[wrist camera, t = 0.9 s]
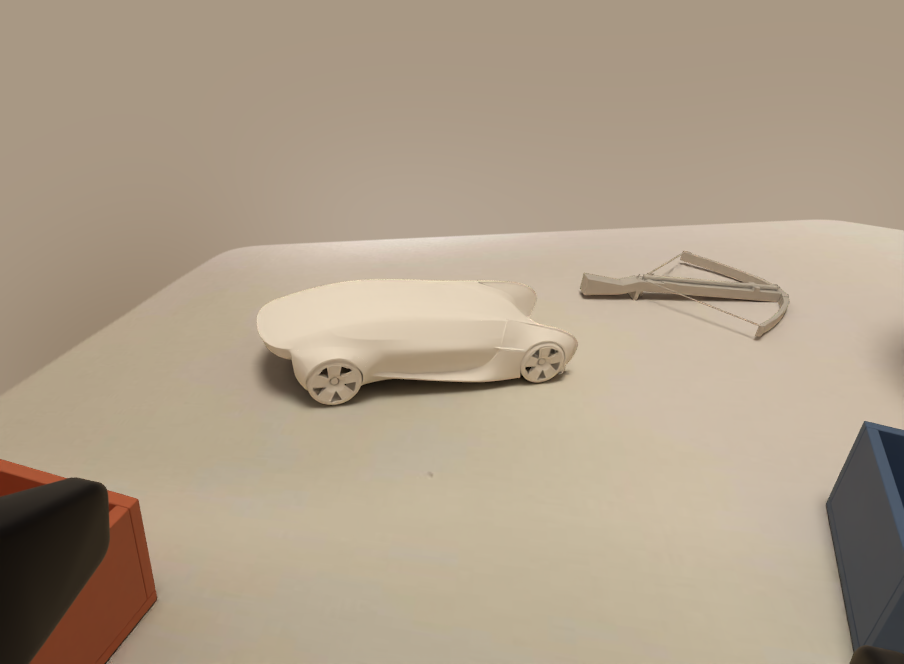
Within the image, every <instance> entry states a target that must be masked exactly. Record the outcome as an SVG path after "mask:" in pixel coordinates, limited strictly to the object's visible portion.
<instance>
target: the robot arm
mask: <svg viewBox="0 0 904 664" xmlns="http://www.w3.org/2000/svg"><path fill="white" fill-rule="evenodd" d="M109 543H110V524H109V498H108V491H107V489H106V487H105V486H104V485H103V484H102V483H99V482H95V481H90V480H85V479H81V478H67V479H64V480H60V481H56V482H53V483H49V484H45V485H42V486H38V487H34V488H31V489H27V490H23V491H20V492H16V493H12V494H9V495H5V496H1V497H0V664H30V662H31V661H32V660H33V658H34V657H35V656H36V654H37V653H38V652H39V650H40V649H41V648H42V646H43V645H44V643H45V642H46V641H47V639H48V638H49V636H50V635H51V633H52V632H53V631H54V629H55V628H56V626H57V625H58V623H59V622H60V621H61V619H62V618H63V616H64V615H65V613H66V612H67V611H68V609H69V608H70V606H71V605H72V604H73V602H74V601H75V599H76V598H77V596H78V595H79V594H80V592H81V591H82V589H83V588H84V586H85V585H86V584H87V582H88V581H89V579H90V578H91V576H92V575H93V574H94V572H95V571H96V569H97V568H98V566H99V565H100V564H101V562H102V561H103V559H104V557H105V555H106V553H107V550H108V547H109ZM850 664H904V654H902V653H900V652H897V651H892V650H887V649H883V648H878V647H873V646H868V645H864V646H861V647H859V648H858V649H857V650H856V651H855V652H854V654H853V656H852V659H851V661H850Z"/></svg>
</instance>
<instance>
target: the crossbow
mask: <svg viewBox="0 0 904 664" xmlns="http://www.w3.org/2000/svg"><path fill="white" fill-rule="evenodd" d="M679 256H681V258H680V260H682V261H685V262H688V263H691V264H694V265H697V266H700V267H703V268H706V269H709V270H712V271H715V272H717V273H720V274H723V275H726V276H728V277H731V278H734V279H736V280H739V281H741V282H744V283H739V282H727V281H715V280H703V279H692V278H680V277H668V276H656V275H654V274H652V272H654V271H656V270H657V269H659V268H661V267H662V266H664V265H666V264H667V263H669V262H671V261H672V260H674V259H676V258H677V257H679ZM580 289H581V291H582V292H583V294H584V295H615V294H625V293H629V295H630V296H631V297H632V299H633V300H637V298H638V296H639V294H640V296H641V297H642V294H643V291H645V292H657V293H670V294H679V295H682V296H684V297H687V298H689V299H692V300H694V301H697V302H699V303H702V304H704V305H707V306H709V307H712V308H715V309H717V310H720V311H722V312H725V313H727V314H730V315H732V316H735V317H737V318H740V319H742V320H745V321H747V322H750V323H753V324H755V325H758V326H759V327H758V330H757V332H756V335H755V336H759V337H761V336H762V334H763V333H765V332H767V331H768V330H770V329H771V328H773V327H774V326H775V325H776V324H777V323H778V322H779V321H780V320H781V319H782V317H783V315H784V313H785V312H786V309H787V307H788V305H789V302H790V301H789V295H788V294H786V293H785V292H784V291H783V290H782V289H781V288H780V287H779V286H778V285H777V284H772V283H770V282H768V281H766V280H764V279H761V278H759V277H756V276H754V275H751V274H749V273H746V272H744V271H741V270H738V269H736V268H733V267H730V266H727V265H724V264H722V263H719V262H716V261H713V260H710V259H707V258H703V257H700V256H697V255H694V254H692V253H691V252H688V251H683V252H682V253H681V254H680V255H678V256H676V257H675V258H673V259H671V260H670V261H668V262H666V263H665V264H663V265H661V266H660V267H658V268H656V269H655V270H653V271H651V272H649V273H647V274H646V275H643V276H640V274H639V275H638V276H630V277H625V278H621V279H616V278H610V277H605V276H599V275H594V274H588V273H584V274H583V278H582V282H581V286H580ZM685 295H695V296H707V297H720V298H732V299H745V300H757V301H770V302H778V305H780V310H779V311H778V312H777V313H776V314H775V315H774V316H773V317H772V318H770V319H769V320H767V321H765V322H764V323H762V324H760V325H759V324H756V323H754V322H751V321H749V320H746V319H744V318H741V317H738V316H736V315H733V314H731V313H728V312H726V311H723V310H721V309H718V308H716V307H713V306H711V305H708V304H705V303H703V302H700V301H698V300H695V299H693V298H690V297H688V296H685Z"/></svg>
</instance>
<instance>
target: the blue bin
mask: <svg viewBox="0 0 904 664" xmlns="http://www.w3.org/2000/svg"><path fill="white" fill-rule="evenodd" d="M826 505H827V511H828V516H829V521H830V526H831V532H832V537H833V542H834V547H835V553H836V558H837V563H838V569H839V574H840V579H841V584H842V590H843V595H844V600H845V605H846V611H847V616H848V621H849V627H850V632H851V637H852V642H853V648H854V652H855V651H856V650H857V649H858V648H859V647H861V646H864V645H868V646H873V647H878V648H883V649H887V650H892V651H897V652H900V653H902V654H904V430H901V429H897V428H892V427H888V426H884V425H880V424H876V423H871V422H867V421H864V423H863V425H862V427H861V429H860V432H859V434H858V436H857V438H856V440H855V442H854V444H853V447H852V449H851V451H850V453H849V455H848V457H847V459H846V462H845V464H844V466H843V468H842V470H841V472H840V475H839V477H838V479H837V481H836V483H835V485H834V487H833V490H832V492H831V494H830V497H829V498H828V501H827V503H826Z"/></svg>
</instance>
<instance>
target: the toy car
mask: <svg viewBox="0 0 904 664" xmlns="http://www.w3.org/2000/svg"><path fill="white" fill-rule="evenodd" d="M536 300H537V295H536V293H535V291H534V290H533V289H532V288H530V287H529V286H527V285H524V284H521V283H516V282H508V281H491V280H477V281H463V280H455V281H444V280H405V279H367V280H353V281H345V282H339V283H334V284H328V285H323V286H319V287H314V288H310V289H307V290H303V291H300V292H296V293H293V294H290V295H287V296H284V297H281V298H279V299H276V300H273V301H270V302H268V303H267V304H265V305H264V306H263V307H262V308H261V309H260V311H259V313H258V315H257V329H258V333H259V335H260V337H261V338H262V340H263V342H264V344H265V345H266V347H267V348H268V350H270V351H271V352H272V353H274V354H275V355H277V356H279V357H281V358H285V359H291V360H292V364H293V369H294V374H295V376H296V378H297V380H298V381H299V383H300V384H301V385H302V386H303V387H304V388H305V389H306V390H308V391H309V394H310V395H311V397H312V398H313V399H315V400H316V401H318V402H320V403H322V404H326V405H336V404H341V403H344V402H346V401H348V400H350V399H351V398H352V397H354V396H355V395H356V393H357V392H358V391H359V389H360V386H361V385H364V384H367V383H371V382H376V381H381V380H386V379H394V378H396V379H412V380H429V381H450V382H490V381H499V380H507V379H513V378H520V373H521V374H522V375H523V377H524V378H525V379H527V380H528V381H531V382H544V381H546V380H549V379H551V378H552V377H554V376H555V375H556V374H557V373H558V374H562V373H563V371H564V369H565V366H566V364H567V363H568V362H569V361H570V360H571V358H572V357H573V355H574V354H575V352H576V350H577V347H578V342H577V340H576V338H575V337H574V336H573V335H572V334H570V333H569V332H567V331H564V330H562V329H559V328H555V327H551V326H547V325H541V324H537V323H536V322H534V321H533V320H532V319H530V318H529V316H530V315H531V313H532V311H533V308H534V306H535V303H536ZM298 350H299V351H298ZM533 354H534V355H535V356H533ZM543 358H544V359H543ZM538 363H539V364H538ZM341 367H345V368H347V369H348V368H350V369H351V370H352V371H350V372H347V373H342V374H341V373H340V371H341ZM526 367H532V368H531V369H530V371H527V370H526ZM325 368H327V371H328V375H321V374H320V373H321V372H322V370H323V369H325ZM331 378H332V379H331ZM330 379H331V380H330ZM338 379H339V381H338ZM344 384H347V385H344ZM321 387H323V389H319V388H321ZM307 388H308V389H307Z"/></svg>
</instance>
